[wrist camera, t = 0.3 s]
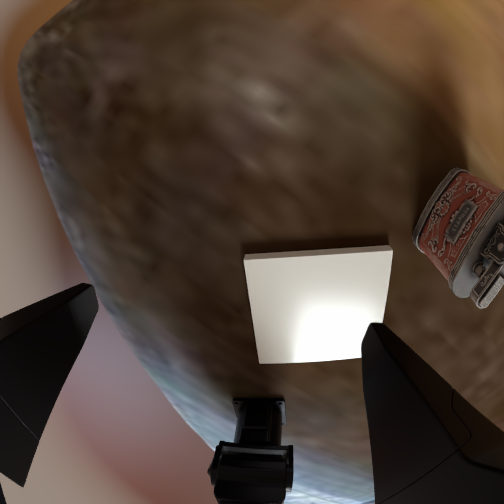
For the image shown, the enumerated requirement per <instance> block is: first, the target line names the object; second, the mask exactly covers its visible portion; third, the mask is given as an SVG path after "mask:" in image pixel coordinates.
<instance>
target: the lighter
mask: <svg viewBox="0 0 504 504" xmlns="http://www.w3.org/2000/svg"><path fill="white" fill-rule="evenodd" d="M412 237H413V242H414V244H415V246H416V247H417V248H418V249H419V250H420V251H421V252H423V253H425V254H426V255H427V256H428V257H429V259H430V260H431V261H432V262H433V263H434V265H435V266H436V267H437V268H438V269H439V271H440V272H441V273H442V274H443V276H444V277H445V278H446V279H447V281H448V284H449V287H450V288H451V290H452V291H453V292H454V294H455V295H456V296H457V297H460V298H466V297H469V296H470V297H471V299H472V300H473V301H474V302H475V304H476V305H477V306H478V307H479V308H486V307H487V306H488V305H489V304H490V302H491V301H492V300H493V298H494V297H495V296H496V294H497V293H498V292H499V290H500V289H501V288H502V286H503V285H504V190H502V189H500V188H498V187H496V186H494V185H492V184H490V183H488V182H486V181H483V180H481V179H479V178H477V177H475V176H472V175H471V174H470V173H469V172H468V171H466V170H464V169H461V168H453V169H452V170H451V171H450V172H449V173H448V175H447V176H446V177H445V178H444V179H443V181H442V182H441V183H440V184H439V186H438V187H437V189H436V190H435V192H434V193H433V195H432V196H431V198H430V199H429V201H428V203H427V205H426V207H425V209H424V210H423V212H422V214H421V216H420V218H419V221H418V223H417V225H416V227H415V230H414V232H413V236H412Z"/></svg>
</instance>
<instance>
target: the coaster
mask: <svg viewBox="0 0 504 504" xmlns="http://www.w3.org/2000/svg"><path fill="white" fill-rule="evenodd" d="M392 254H393V250H392V249H391V247H390V246H389V245H384V246H369V247H353V248H337V249H322V250H306V251H290V252H274V253H258V254H245V257H244V266H245V273H246V280H247V286H248V293H249V300H250V306H251V313H252V319H253V326H254V332H255V339H256V345H257V352H258V358H259V364H271V363H298V362H315V361H329V360H340V359H350V358H360V357H361V343H362V340H363V338H364V335H365V333H366V330H367V328H368V326H369V324H370V323H372V322H377V323H382V321H383V316H384V310H385V304H386V298H387V292H388V285H389V278H390V271H391V262H392Z"/></svg>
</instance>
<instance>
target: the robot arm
mask: <svg viewBox="0 0 504 504" xmlns="http://www.w3.org/2000/svg"><path fill="white" fill-rule="evenodd" d="M97 312H98V301H97V297H96V293H95V289H94V287H93V285H91V284H87V283H81V284H78V285H76V286H74V287H71V288H69V289H66V290H64V291H62V292H59V293H57V294H54V295H52V296H50V297H47V298H45V299H43V300H40V301H38V302H36V303H33V304H31V305H29V306H27V307H24V308H22V309H20V310H17V311H15V312H13V313H11V314H9V315H6V316H4V317H3V318H0V472H1V473H2V474H3V475H5V476H6V477H8V478H9V479H11V480H12V481H13V482H15V483H16V484H18V485H19V486H21V487H24V484H25V482H26V478H27V475H28V472H29V469H30V466H31V463H32V460H33V457H34V455H35V452H36V449H37V446H38V444H39V440H40V438H41V436H42V433H43V431H44V428H45V425H46V423H47V421H48V418H49V416H50V414H51V411H52V409H53V407H54V405H55V402H56V400H57V398H58V396H59V394H60V391H61V389H62V387H63V385H64V383H65V381H66V379H67V377H68V374H69V373H70V370H71V369H72V366H73V364H74V362H75V361H76V359H77V357H78V355H79V353H80V350H81V349H82V347H83V345H84V342H85V340H86V338H87V335H88V333H89V330H90V328H91V325H92V323H93V321H94V318H95V316H96V314H97ZM361 358H362V376H363V391H364V399H365V405H366V412H367V420H368V427H369V436H370V445H371V454H372V465H373V477H374V492H375V504H504V432H503V431H502V430H501V429H500V428H498V427H497V426H496V425H495V424H494V423H492V422H491V421H490V420H489V419H487V418H486V417H485V416H484V415H483V414H481V413H480V412H479V411H478V410H477V409H476V408H474V407H473V406H472V405H471V404H470V403H469V402H468V401H467V400H466V399H464V398H463V397H462V396H461V395H460V394H459V393H458V392H457V391H456V390H455V389H453V388H452V386H451V385H450V384H449V383H448V382H447V381H445V380H444V379H443V378H442V377H441V376H440V375H439V374H438V373H437V372H436V371H435V370H434V369H433V368H432V367H431V366H430V365H428V364H427V363H426V362H425V361H424V360H423V359H422V358H421V357H420V356H419V355H418V354H417V353H415V352H414V351H413V350H412V349H411V348H410V347H409V346H408V345H407V344H406V343H405V342H403V341H402V340H401V339H400V338H399V337H398V336H397V335H396V334H395V333H393V332H392V331H391V330H390V329H389V328H388V327H387V326H386V325H385V324H383V323H377V322H372V323H370V324H369V326H368V328H367V330H366V333H365V335H364V338H363V340H362V343H361ZM232 403H233V406H234V409H235V413H236V416H237V425H236V431H235V438H234V443H232V442H225V441H220V443H219V445H218V446H216V450H215V455H214V458H213V460H212V462H211V464H210V466H209V468H208V472H207V473H208V474H209V476H210V478H211V484H212V486H214V495H215V497H216V499H217V501H218V503H219V504H283V503H284V500H285V496H286V492H291V490H292V484H293V445H288V446H281V434H282V426H283V425H286V411H285V400H284V399H233V402H232ZM0 504H6V501H5V497H4V494H3V491H2V487H1V484H0Z"/></svg>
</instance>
